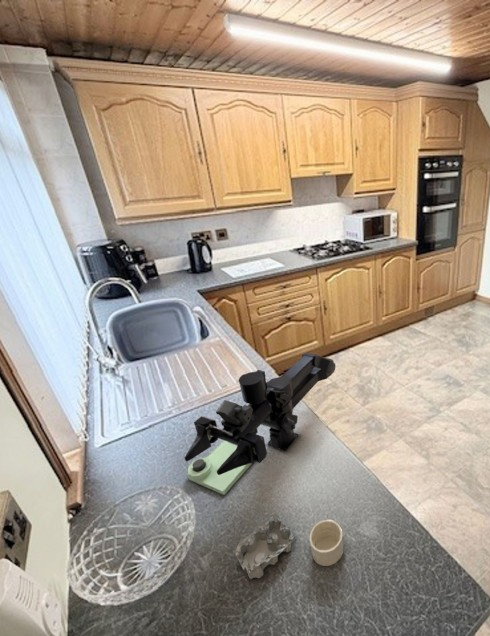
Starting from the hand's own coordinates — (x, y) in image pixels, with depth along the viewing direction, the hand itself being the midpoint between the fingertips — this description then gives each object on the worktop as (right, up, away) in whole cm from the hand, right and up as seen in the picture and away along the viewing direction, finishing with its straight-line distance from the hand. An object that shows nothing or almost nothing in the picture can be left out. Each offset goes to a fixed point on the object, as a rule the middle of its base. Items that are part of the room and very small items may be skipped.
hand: (201, 466), depth 73 cm
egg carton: (+14, -18, 0) cm, 23 cm away
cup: (+27, -17, 0) cm, 32 cm away
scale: (-2, -8, +21) cm, 23 cm away
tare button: (-8, -8, +17) cm, 20 cm away
